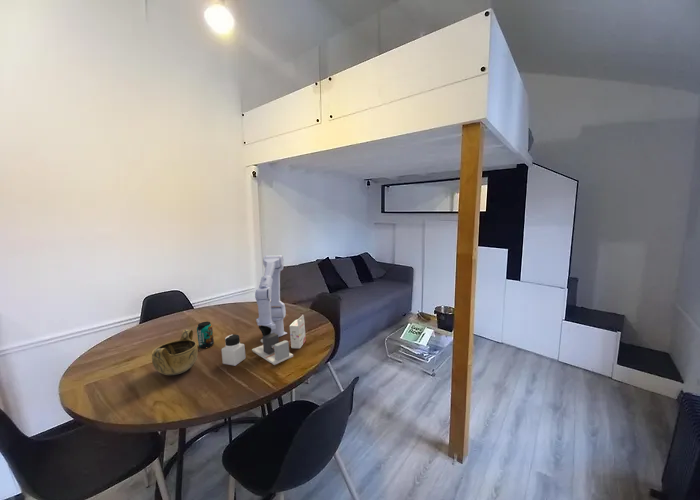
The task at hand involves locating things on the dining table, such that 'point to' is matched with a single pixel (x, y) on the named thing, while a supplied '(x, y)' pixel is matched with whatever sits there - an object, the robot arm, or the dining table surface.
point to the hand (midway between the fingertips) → (266, 339)
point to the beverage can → (205, 334)
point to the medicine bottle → (233, 350)
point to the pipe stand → (278, 355)
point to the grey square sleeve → (270, 342)
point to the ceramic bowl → (176, 355)
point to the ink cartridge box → (297, 333)
